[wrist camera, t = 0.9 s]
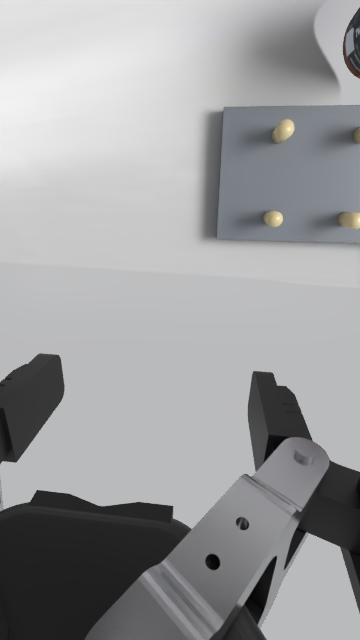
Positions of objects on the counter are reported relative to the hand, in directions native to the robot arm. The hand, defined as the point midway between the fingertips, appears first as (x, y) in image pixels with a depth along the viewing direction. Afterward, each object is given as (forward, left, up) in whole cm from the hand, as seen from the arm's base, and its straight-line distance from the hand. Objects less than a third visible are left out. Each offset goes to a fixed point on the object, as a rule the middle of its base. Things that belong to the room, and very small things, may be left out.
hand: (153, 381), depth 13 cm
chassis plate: (-9, +12, -25) cm, 29 cm away
